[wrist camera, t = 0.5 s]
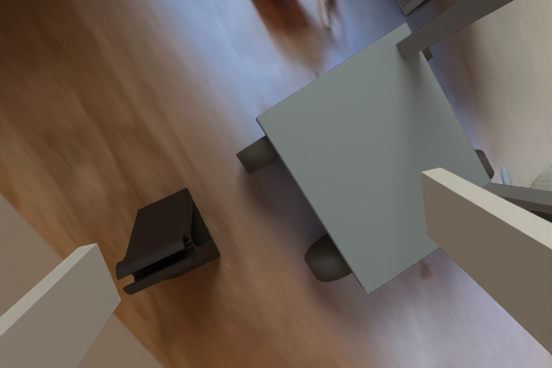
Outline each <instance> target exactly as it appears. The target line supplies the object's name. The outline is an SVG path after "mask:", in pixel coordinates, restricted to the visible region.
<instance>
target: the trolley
mask: <svg viewBox="0 0 552 368" xmlns="http://www.w3.org/2000/svg"><path fill="white" fill-rule="evenodd" d="M511 1H513V0H460V1H459V2H457V3H456V4H454V5H453V6H451V7H450V8H449V9H447V10H446V11H444V12H443V13H441V14H440V15H438V16H437V17H435V18H434V19H432V20H431V21H429V22H428V23H426V24H425V25H424V26H422V27H421V28H419V29H418V30H416V31H415V32H413V33H412V32H411V30H410V28H409V27H408V25H407V23H406V22H405V23H403V24H402V25H400V26H399V27H397V28H396V29H394V30H392V31H391V32H389V33H388V34H386V35H385V36H383V37H382V38H380V39H378V40H377V41H375V42H374V43H372V44H371V45H369V46H367V47H366V48H364V49H363V50H361V51H360V52H358V53H356V54H355V55H353V56H352V57H350V58H349V59H347V60H346V61H344V62H342V63H341V64H339V65H338V66H336V67H335V68H333V69H331V70H330V71H328V72H327V73H325V74H324V75H322V76H320V77H319V78H317V79H316V80H314V81H313V82H311V83H309V84H308V85H306V86H305V87H303V88H302V89H300V90H299V91H297V92H295V93H294V94H292V95H291V96H289V97H288V98H286V99H284V100H283V101H281V102H280V103H278V104H277V105H275V106H273V107H272V108H270V109H269V110H267V111H266V112H264V113H263V114H261V115H259V116H258V117H256V121H257V122H258V124H259V125H260V127H261V128H262V130H263V132H264V133H265V136H264V137H262V138H261V139H259V140H258V141H256V142H254V143H253V144H251V145H250V146H248V147H247V148H245V149H244V150H242V151H240V152H239V153H237V154H236V155H237V157H238V158H239V160H240V162H241V163H242V165H243V166H244V168H245V169H246V171H247V172H248V174H250V173H252V172H254V171H256V170H258V169H260V168H261V167H263V166H265V165H267V164H268V163H270V162H272V161H273V160H275V159H276V158H278V157H280V159H281V160H282V162H283V163H284V165H285V167H286V168H287V170H288V171H289V173H290V175H291V176H292V178H293V179H294V181H295V182H296V184H297V186H298V187H299V189H300V190H301V192H302V194H303V195H304V197H305V198H306V200H307V201H308V203H309V205H310V206H311V208H312V209H313V211H314V213H315V214H316V216H317V217H318V219H319V221H320V222H321V224H322V225H323V227H324V228H325V230H326V232H327V233H328V234H326V235H324V236H323V237H321V238H320V239H319V240H317V241H316V242H315V243H314V244H313V245H312V246H311V247H310V248H309V249H308V251H307V252H306V254H305V261H306V263H307V265H308V266H309V268H310V269H311V271H312V272H313V274H314V275H315V277H316V278H317V280H319V281H322V282H330V281H334V280H338V279H340V278H343V277H345V276H347V275H349V274H350V273H353V274H354V276H355V278H356V279H357V281H358V282H359V284H360V286H361V287H362V288H363V289H364V291H365V292H366V293H367V294H370V293H371V292H373V291H374V290H376V289H377V288H379V287H380V286H382V285H383V284H385V283H386V282H388V281H389V280H391V279H392V278H394V277H395V276H397V275H398V274H400V273H401V272H403V271H404V270H406V269H408V268H409V267H411V266H412V265H414V264H415V263H417V262H418V261H420V260H421V259H423V258H424V257H426V256H427V255H429V254H430V253H432V252H433V251H435V250H436V249H438V248H439V246H438V245H437V244H436V243H435V242H434V241H433V240H432V239H431V238H430V237H429V236H428V235H427V227H426V217H425V207H424V197H423V187H422V177H421V172H423V171H427V170H432V169H436V168H443V169H445V170H447V171H449V172H451V173H453V174H455V175H457V176H459V177H461V178H463V179H465V180H467V181H469V182H471V183H473V184H475V185H477V186H479V187H481V188H483V189H485V190H487V191H489V192H491V193H493V194H495V195H497V196H499V197H501V198H503V199H505V200H506V201H508V202H510V203H512V204H514V205H516V206H518V207H520V208H522V209H524V210H526V211H530V210H536V211H540V212H544V213H548V214H552V191H546V190H539V189H532V188H525V187H518V186H510V185H503V184H496V183H492V182H491V179H492V177H493V176H494V171H493V169H492V167H491V165H490V163H489V161H488V159H487V158H486V156H485V154H484V152H483V151H482V150H477V149H475V150H474V148H473V146H472V145H471V143H470V141H469V139H468V137H467V135H466V133H465V131H464V130H463V128H462V126H461V124H460V122H459V120H458V118H457V116H456V115H455V113H454V111H453V109H452V107H451V105H450V103H449V101H448V100H447V98H446V96H445V94H444V92H443V90H442V88H441V86H440V85H439V83H438V81H437V79H436V77H435V75H434V73H433V71H432V70H431V68H430V66H429V64H428V62H427V61H428V60H430V59H431V58H432V57H433V56H432V54H431V52H430V50H429V48H428V47H429V46H431V45H433V44H435V43H436V42H438V41H440V40H442V39H444V38H446V37H447V36H449V35H451V34H453V33H455V32H457V31H458V30H460V29H462V28H464V27H466V26H467V25H469V24H471V23H473V22H475V21H477V20H478V19H480V18H482V17H484V16H486V15H488V14H489V13H491V12H493V11H495V10H497V9H499V8H500V7H502V6H504V5H506V4H508V3H509V2H511Z"/></svg>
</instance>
